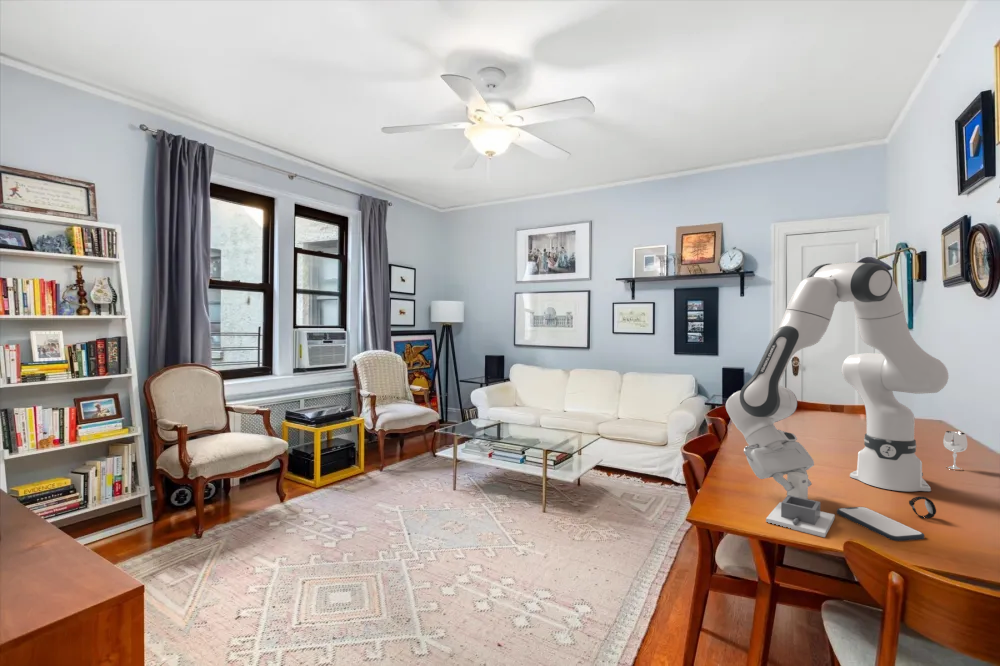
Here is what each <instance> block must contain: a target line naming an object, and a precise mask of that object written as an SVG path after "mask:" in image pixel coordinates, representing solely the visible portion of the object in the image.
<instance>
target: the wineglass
mask: <svg viewBox="0 0 1000 666" xmlns="http://www.w3.org/2000/svg"><path fill="white" fill-rule="evenodd" d="M942 442H943V446H944V448H945V449H946V450H949V451H950V452H953V453H952V457H953V465H951V466H949V465H948V466H949V467H948V468H951V469H960V468H961V467H958V466H957V464H956V461H957V460H956V459H957V456H958V454H957V453H962V452H965V451H966V450H967V448H968V438H967V434H966V433H965V432H961V431H954V430H953V431H951V430H947V431H945V432H944V435H943V441H942Z"/></svg>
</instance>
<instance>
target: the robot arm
mask: <svg viewBox="0 0 1000 666" xmlns="http://www.w3.org/2000/svg"><path fill="white" fill-rule="evenodd" d="M839 302H841V303H842V302H843V303H846V302H853V305H854V312H855V318H856V321H857V322H856V323H857V328H858V331H859V332H858V333H859V336H860V339H861V340H862V342H863V343H864V344H866V345H868V346H869V347H870V348H873V349H875V350H877V351H878V352H879V353H878V352H877V353H876V352H863V353H853V354H850V355H848V356H847V357H846V358H845V359H844V360H843V362H842V364H841V374H842V376H843V379H844V380H845V381H846V383H848V384H849V385H850V386H852V387H853V388H854V390H856V391H857V393H858V394H859V396H860V398H861V400H862V401H863V405H864V408H865V418H866V420H865V421H866V433H865V434H864V438H863V441H864V443H863V444H864V448H862V449H860V451H858V453H857V463H856V465H857V466H856V470H854V471H851V472H850V473H849V477H850V478H852V479H854V480H857V481H860V482H861V483H864V484H867V485H870V486H873V487H877V488H881V489H885V490H890V491H891V490H892V491H898V492H931V491H932V489H931V488H932V487H931V486H930V485H929V484H928V483H927V481H926V480H925V479H924V478H923V476H924V472H923V462H922V460H921V459H920V458H919V457H918V456H917V455H916V452H917V441H916V439H915V417H916V416H915V415H914V413H913V411H912V410H911V409H910V408H909V407H908V406H906V405H904V404H902V403H901V402H899V401H898V400H897V398H896V397H895V395H894V392H896V393H897V392H898V393H908V394H913V395H914V394H916V395H917V394H919V395H920V394H921V395H923V394H924V395H925V394H936V393H939V392H940V391H942V390H943V389H944V388H945V386H946V385H947V384H948V381H949V371H948V368H947V367H946V364H944V362H942V361H941V360H939V359H938V358H936V357H934V356H932V355H931V354H929V353H928V352H927V351H925V350H924V349H923V348H922V347H921V346H920V345H918V343H917V342H916V341H915V338H913V337H912V335H911V332H910V330H909V327H908V323H907V319H906V314H905V310H904V304H903V301H902V297H901V294H900V291H899V289H898V287H897V285H896V283H895V281H894V279H893V277H892V274H891V272H890V270H889V269H888V268H887V267H886V266H885V265H882V264H879V263H873V262H866V263H865V262H856V261H855V262H854V261H853V262H852V261H850V262H849V261H847V262H840V263H823V264H820V265H818V266H815V267H814V268H813V269H811V271H810V272H809V273H808V275H807V276H806V278H804V279H802V280H800V282H799V284H798V285H797V286H796V288H795V290H794V291H793V293H792V295H791V298H790V299H789V301H788V304H787V306H786V308H785V312H784V314H783V315H782V319H781V321H780V323H779V325H778V327H777V329H776V331H775V332H774V334H773V336H772V337H771V339H770V341H769V342H768V344H767V347H766V349H765V351H764V353H763V355H762V357H761V360H760V362H759V364H758V366H757V367H756V370H755V371H754V373H753V375H752V376H751V378H750V379H749V380H748V381H746V383H744V385H743V386H742V388H741V390H737V391H736V392H733V393H732V394H731V395H730V396H728V398H727V400H726V403H725V409H726V412H727V414H728V416H729V418H730V419H731V422H732V423H733V424H734V425H735V428H736V429H737V430H738V431H739V432H741V434H742V435H743V437H744V439H745V442H746V443H747V445H745V447H744V448H743V453H744V455H745V456H746V460H747V462H748V464H749V466H750V468H751V471H752V472H753V473H754V474H755V476H756V477H757V478H758V479H759V480H765V479H768V478H773V480H774V481H775V482H777V484H779V485H780V486H782V487H783V488H784V490H785V491H786V492H787V491H790V490H792V489H794V486H793V485H792V483H791V482H788V481H787V478H785V477H784V476H785V475H787V473H789V472H795V471H796V472H800V473H803V474H806V475H808V470H810V469H811V468H812V467H814V466H815V462H814V459H813V457H812V456H811V454H810V453H809V452H808V451H807V450H806V448H805V447H804V446H803V445H802V444H801V443H800V442H798V441H797V440H798V437H797V435H795V434H794V433H791V432H787V431H785V430H781V429H777V426H775V423H776V422H777V423H778V422H780V421H782V420H785V419H787V418H789V417H791V416H792V415H794V413H795V412H796V411H797V407H798V400H797V396H796V394H795V393H794V392H793V391H792V390H791V389H789V388H787V387H784V386H782V385H780V382H781V380H782V378H783V375H784V374H785V371H786V369H787V367H788V365H789V363H790V361H791V359H792V358H793V356H794V355H795V354H796V353H797V352H799V351H801V350H803V349H806V348H809V347H812V346H814V345H817V344H818V343H820V341H821V339H823V337H824V335H825V333H826V332H827V329H828V327H829V326H830V322H831V319H832V317H833V314H834V311H835V307H836V305H837V303H839ZM811 485H812V482H811V481H810V479H809V478H808V488H809V487H810V486H811Z"/></svg>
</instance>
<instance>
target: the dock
mask: <svg viewBox="0 0 1000 666" xmlns="http://www.w3.org/2000/svg"><path fill="white" fill-rule="evenodd" d="M835 516H836V515H835V514H834V513H829V512H825V511H821V501H818V500H813V499H809V498H808V499H805V498H800V497H795V496H791V495H787V494H786V497H784V499H783V500H782V501H779V503H778V504H777V505H776V506H775V507H774V508H773V509H772V511H770V513H769V514H768V516H767V517H765V523H766V522H768V523H767V524H770V523H772V524H771V525H774V524H776V525H775V526H778V525H780V526H779V527H782V526H783V528H786V527H788V528H787V529H790V528H791V529H790V530H794V531H797V532H801V533H806V534H810V535H813V536H818V537H821V538H826V536H827V534H828V532H829V531H830V528H831V527H832V525H833V523H834V520H835V519H836V518H835Z"/></svg>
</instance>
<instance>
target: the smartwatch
mask: <svg viewBox="0 0 1000 666" xmlns="http://www.w3.org/2000/svg"><path fill="white" fill-rule="evenodd" d="M919 500H924V505H925V508H926V510H927V514H925V515H919V513H917V509H916V508H915V504H916V503H915V502H917V501H919ZM908 504H909V506H910V507H911V509H912V511H913V512H914V514H915V515H916V516H917V517H920V518H921V519H924V517H925V518H927V519H931V518H934V517H935V516H936V514H937V508H936V506H935V503H934V502H933V500H931V499H929V498H928V497H925V496H916V497H912V498H911V500H908ZM923 516H924V517H923Z"/></svg>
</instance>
